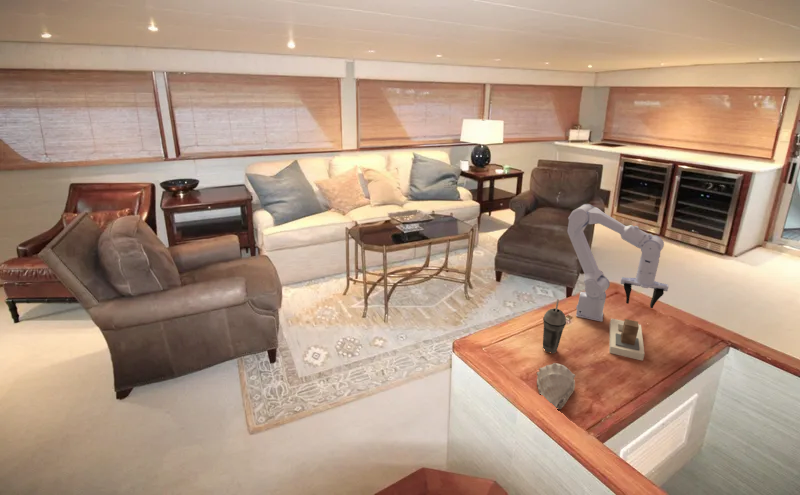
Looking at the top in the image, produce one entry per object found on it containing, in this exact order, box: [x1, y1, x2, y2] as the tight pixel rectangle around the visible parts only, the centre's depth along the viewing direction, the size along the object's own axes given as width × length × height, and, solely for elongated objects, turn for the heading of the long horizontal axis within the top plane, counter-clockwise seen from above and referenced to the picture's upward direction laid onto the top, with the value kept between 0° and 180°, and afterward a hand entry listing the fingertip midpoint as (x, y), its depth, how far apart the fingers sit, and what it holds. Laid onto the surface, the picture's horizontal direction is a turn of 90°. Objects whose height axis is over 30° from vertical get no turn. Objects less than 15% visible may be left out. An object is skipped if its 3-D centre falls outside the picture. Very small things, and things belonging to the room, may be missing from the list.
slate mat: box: [616, 333, 639, 351], centre depth 142 cm, size 7×7×1 cm
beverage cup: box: [542, 298, 567, 354], centre depth 139 cm, size 7×7×20 cm
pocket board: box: [608, 318, 645, 361], centre depth 147 cm, size 10×20×2 cm, turn 155°
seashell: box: [536, 362, 576, 410], centre depth 120 cm, size 12×14×10 cm
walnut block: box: [621, 318, 639, 345], centre depth 141 cm, size 4×4×7 cm
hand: (639, 304), depth 151 cm, fingers open, 7 cm apart
